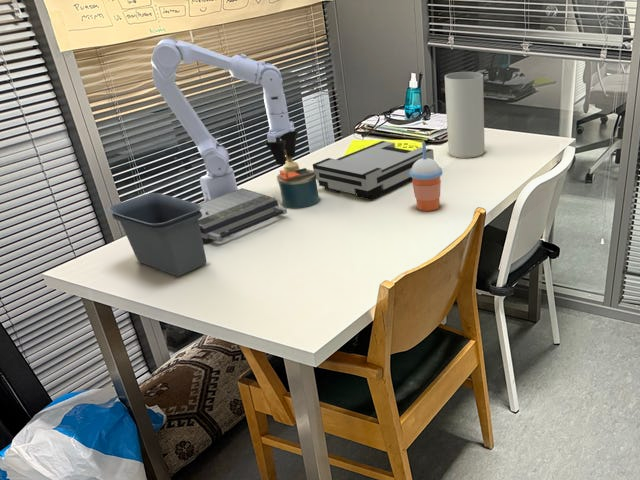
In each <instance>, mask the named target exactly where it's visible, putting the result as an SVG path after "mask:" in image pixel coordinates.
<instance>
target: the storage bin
mask: <svg viewBox="0 0 640 480" xmlns="http://www.w3.org/2000/svg"><path fill="white" fill-rule="evenodd" d="M201 208H202V206H201V205H199V203H196V202H193V201H190V200H189V201H188V200H185V199H181V198H178V197H175V196H171V195H169V194H168V195H167V194H164V193H159V192H152V193H147V194H143V195H139V196H137V197H134V198H131V199H128V200H125V201H122V202H119V203H115V204H113V205H111V206H109V207H108V209H107V211H108V212H109V213H111V216H112V218H113V219H114V220H116V221H117V222H118V221H119V222H120V225H121V227H122V229H123V231H124V233H125V235H126V238H127V240H128V242H129V244H130V247H131V249H132V251H133V254H134V255H135V258H136V260H137V262H139V263H141V264H144V265H146V266H149V267H152V268H154V269H157V270H160V271H162V272H165V273H167V274H171V275H173V276H176V277H177V276H178V277H179V276H183V275H184V274H187V273H189V272H191V271H193V270H196V269H198V268H200V267H202V266H204V265H206V264H207V257H206V252H205V247H204V242H203V241H202V236H201V231H200V226H199V222H198V219H200V218H201V217H202V213H201V211H199V210H200V209H201Z"/></svg>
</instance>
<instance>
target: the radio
mask: <svg viewBox="0 0 640 480" xmlns="http://www.w3.org/2000/svg"><path fill="white" fill-rule="evenodd" d="M198 204H199V205H201V206H202V208H201V209H200V210H199V211H201V213H202V217H201V218H200V219H198V222H199V226H200V231H201V236H202V241H203V244H209V243H211V242H213V241H214V242H220V241H222V240H223V239H225V238H227V237H229V236H232V235H235V234H236V233H239V232H242V231H244V230H247V229H249V228H251V227H254V226H256V225H259V224H261V223H264V222H267V221H268V220H271V219H274V218H276V217H278V216H280V215H286V214H288V210H287V207H282V206H280V204H279V202H278V200H277V199H276V197H274V196H270V195H267V194H263V193H260V192H257V191H253V190H249V189H246V188H243V187H242V188H238V190H236V191H233V192H230V193H227V194H225V195H222V196H219V197H216V198H213V199H211V200H208V201H205V200H204V201H203V202H200V203H198Z"/></svg>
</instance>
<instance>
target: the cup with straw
mask: <svg viewBox="0 0 640 480" xmlns="http://www.w3.org/2000/svg"><path fill="white" fill-rule="evenodd" d="M426 146H427V145H426V142H421V148H423V158H421V159H419V160H417V161H416V162H415V163H414V164H413V166H412V168H411V169H410V171H409V174H410V176H411V177H412V179H413V181H411V183H412V189H413V194H414V198H415V202H416V207H417V209H418V210H419V211H424V212H432V211H435V210H438V209H439V208H440V197H441V188H442V187H441V186H442V185H441V183H442V180H441V177H442V175H443V168H441V166H440V165H439V163H438V162H437V161H436V160H435V159H434V160H433V159H430V158H426V148H427V147H426Z"/></svg>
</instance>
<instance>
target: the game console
mask: <svg viewBox="0 0 640 480" xmlns="http://www.w3.org/2000/svg"><path fill="white" fill-rule="evenodd" d="M434 156H435V155H434V149H432V148H427V147H426V158H430V159H433V160H434V161H435V158H434ZM421 158H423V148H422V146H421V147H417V148H415V149H413V150H410V149H405V148H398V147H396V144H395V142H393V141H392V142H391V141H385V140H381V141H378V142H376V143H373V144H371V145H369V146H366V147H363V148H361V149H358V150H356V151H353V152H351V153H348V154H346V155H343V156H341V157H338V158H336V159H335V158H330V157H327V158H325V159H323V160H320V161H317V162H315V163H313V164H312V171H314V172H315V173H316V181H318V186H320V187H323V188H324V190H325V191H329V192H335V193H338V194H340V193H342V192H345V193H350V194H353V195H356V198H360V199H364V200H370V201H374V200H376V199H378V198H381V197H383V196H384V195H387V194H389V193H391V192H393V191H395V190H397V189H398V188H401V187H403V186H405V185H407V184H410V183H412V182H413V179H412V177H411V176H410V174H409V171H410V169H411V168H412V166H413V164H414V163H415V162H416V161H417V160H419V159H421Z"/></svg>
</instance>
